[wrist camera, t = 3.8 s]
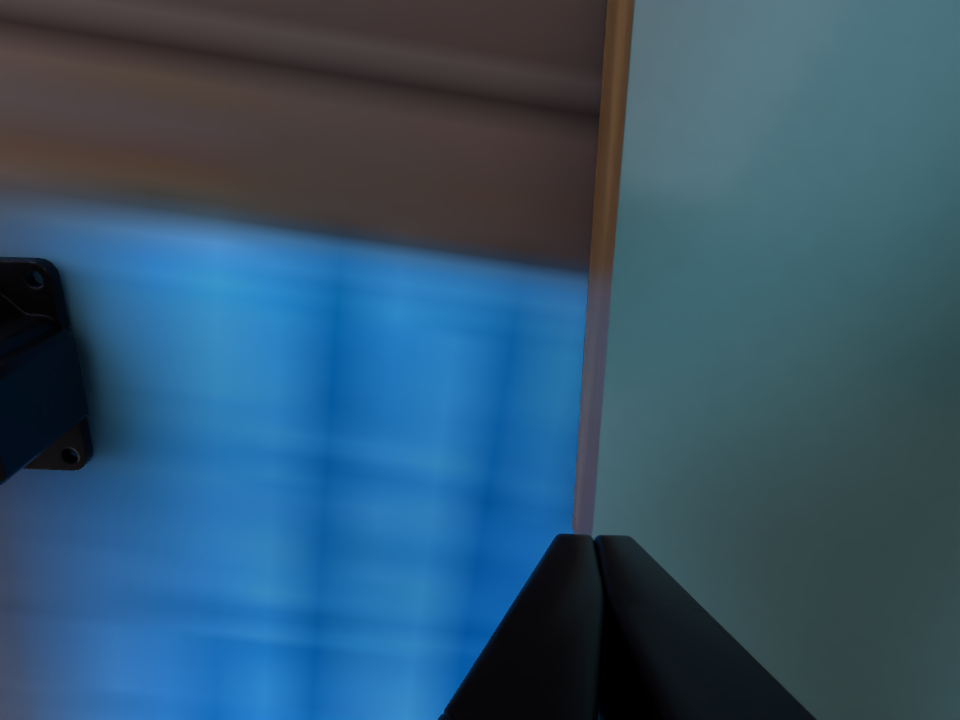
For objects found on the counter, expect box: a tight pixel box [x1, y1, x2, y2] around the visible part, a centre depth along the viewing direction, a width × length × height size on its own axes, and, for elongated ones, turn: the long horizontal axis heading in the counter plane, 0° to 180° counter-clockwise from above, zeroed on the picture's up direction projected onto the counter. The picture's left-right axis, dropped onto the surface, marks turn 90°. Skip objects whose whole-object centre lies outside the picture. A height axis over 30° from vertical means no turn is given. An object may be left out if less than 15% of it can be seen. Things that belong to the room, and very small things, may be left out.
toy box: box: [572, 0, 634, 536], centre depth 18 cm, size 12×16×6 cm
